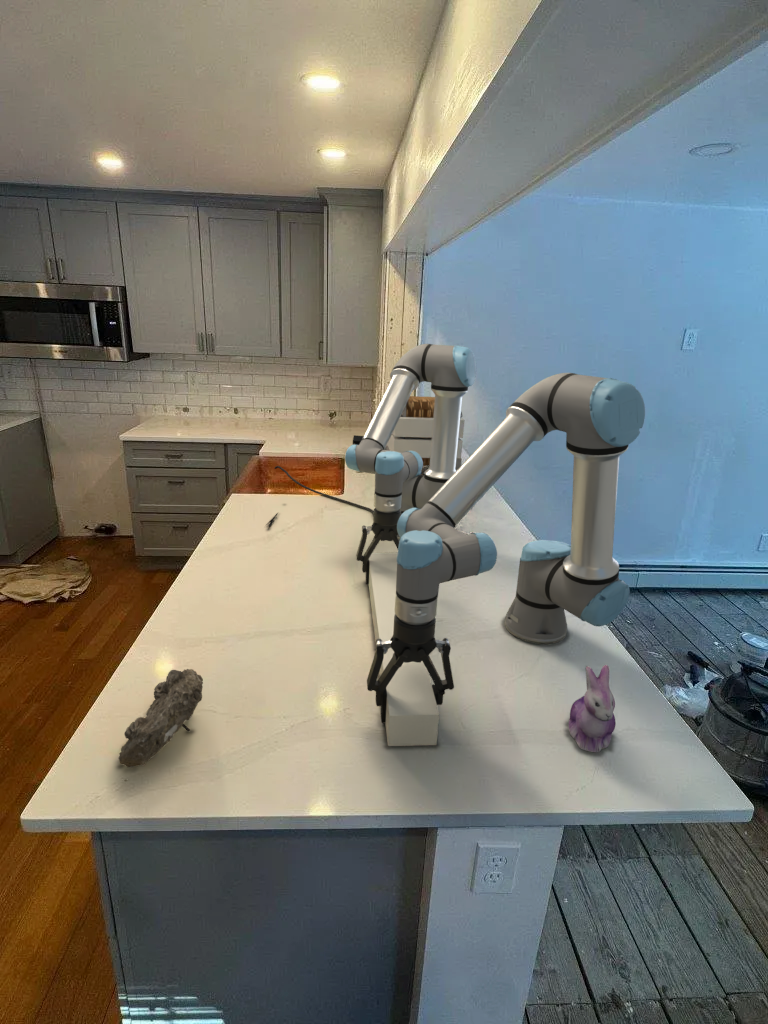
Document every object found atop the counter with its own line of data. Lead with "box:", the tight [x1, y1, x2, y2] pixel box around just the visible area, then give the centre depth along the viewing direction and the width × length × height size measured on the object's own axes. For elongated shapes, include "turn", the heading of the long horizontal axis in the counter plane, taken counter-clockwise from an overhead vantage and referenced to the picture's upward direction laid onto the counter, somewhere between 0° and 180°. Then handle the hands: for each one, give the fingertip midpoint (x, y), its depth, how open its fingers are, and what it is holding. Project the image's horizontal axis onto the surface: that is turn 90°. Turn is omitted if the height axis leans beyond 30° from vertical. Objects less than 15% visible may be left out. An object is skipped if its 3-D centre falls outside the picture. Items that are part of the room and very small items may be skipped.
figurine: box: [568, 664, 617, 753], centre depth 105 cm, size 9×10×15 cm
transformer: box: [385, 395, 465, 471], centre depth 268 cm, size 34×33×41 cm
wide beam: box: [368, 551, 440, 747], centre depth 135 cm, size 71×9×7 cm, turn 5°
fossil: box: [118, 668, 204, 768], centre depth 103 cm, size 22×10×15 cm
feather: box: [265, 512, 279, 530], centre depth 210 cm, size 2×28×2 cm
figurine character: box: [352, 435, 364, 445], centre depth 310 cm, size 7×8×15 cm
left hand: (384, 581), depth 163 cm, fingers closed on wide beam, 9 cm apart
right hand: (407, 717), depth 110 cm, fingers closed on wide beam, 9 cm apart
